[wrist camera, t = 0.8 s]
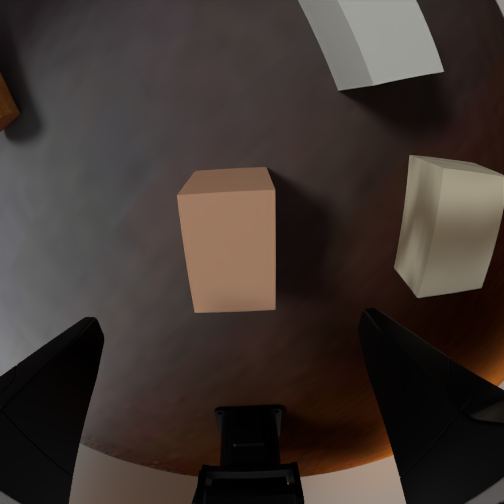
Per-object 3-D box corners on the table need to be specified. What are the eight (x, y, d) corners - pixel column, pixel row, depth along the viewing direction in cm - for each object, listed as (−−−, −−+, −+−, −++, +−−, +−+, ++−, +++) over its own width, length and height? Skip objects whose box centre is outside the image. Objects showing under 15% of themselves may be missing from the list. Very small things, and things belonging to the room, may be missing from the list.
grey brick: (395, 76, 14) (444, 71, 9) (338, 90, 14) (374, 85, 10) (358, -10, 11) (394, -40, 7) (297, 0, 12) (317, -35, 7)
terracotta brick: (268, 261, 19) (275, 309, 15) (205, 263, 19) (194, 312, 15) (266, 166, 16) (275, 189, 12) (195, 170, 16) (176, 195, 12)
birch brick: (453, 261, 20) (481, 287, 16) (392, 266, 20) (417, 297, 16) (472, 162, 16) (508, 177, 13) (407, 154, 16) (443, 168, 13)
